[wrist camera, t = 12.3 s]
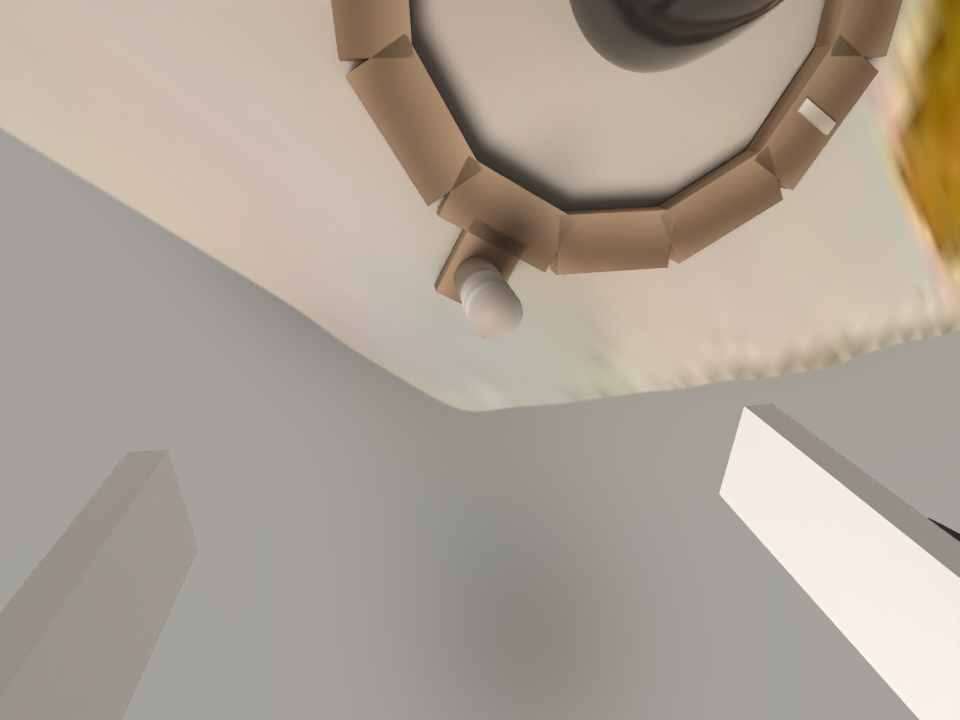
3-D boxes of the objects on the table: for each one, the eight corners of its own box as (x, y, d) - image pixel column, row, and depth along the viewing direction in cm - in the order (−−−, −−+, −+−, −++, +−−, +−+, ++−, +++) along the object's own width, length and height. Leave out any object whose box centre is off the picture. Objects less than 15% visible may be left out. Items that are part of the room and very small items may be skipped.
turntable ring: (209, 178, 30) (148, 198, 22) (541, -827, 18) (654, -1526, 10) (639, 382, 41) (695, 441, 34) (1014, -146, 29) (1232, -238, 22)
